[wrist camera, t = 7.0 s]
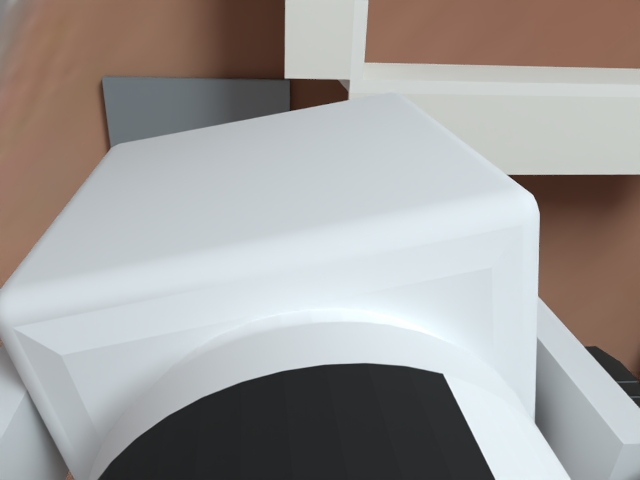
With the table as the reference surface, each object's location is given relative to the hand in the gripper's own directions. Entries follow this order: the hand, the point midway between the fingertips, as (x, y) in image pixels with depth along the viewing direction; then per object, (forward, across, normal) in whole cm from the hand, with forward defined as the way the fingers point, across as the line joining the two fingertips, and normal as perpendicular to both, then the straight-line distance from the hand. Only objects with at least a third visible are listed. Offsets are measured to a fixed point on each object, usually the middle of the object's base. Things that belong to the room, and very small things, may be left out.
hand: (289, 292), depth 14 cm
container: (+3, 0, 0) cm, 3 cm away
